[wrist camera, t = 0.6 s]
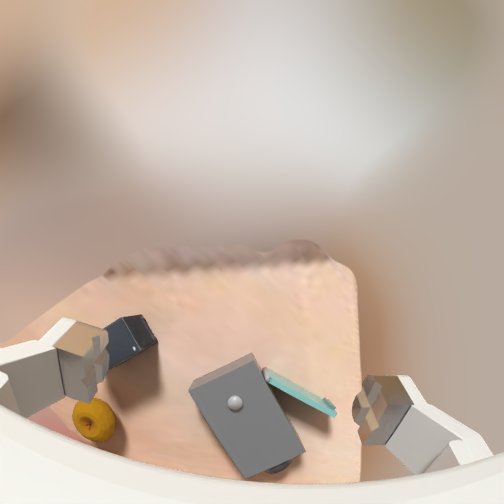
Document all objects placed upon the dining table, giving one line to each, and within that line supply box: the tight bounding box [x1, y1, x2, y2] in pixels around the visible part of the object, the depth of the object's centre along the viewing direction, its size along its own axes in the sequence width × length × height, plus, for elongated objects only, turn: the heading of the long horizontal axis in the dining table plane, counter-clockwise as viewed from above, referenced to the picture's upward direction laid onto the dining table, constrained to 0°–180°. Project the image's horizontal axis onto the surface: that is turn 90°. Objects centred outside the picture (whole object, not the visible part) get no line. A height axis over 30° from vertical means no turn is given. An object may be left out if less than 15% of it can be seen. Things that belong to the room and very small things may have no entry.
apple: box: [72, 398, 115, 442], centre depth 48 cm, size 9×9×9 cm
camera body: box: [189, 353, 306, 478], centre depth 50 cm, size 22×12×8 cm, turn 27°
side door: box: [262, 367, 337, 417], centre depth 52 cm, size 14×2×7 cm, turn 57°
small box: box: [104, 315, 158, 370], centre depth 50 cm, size 11×6×10 cm, turn 122°
